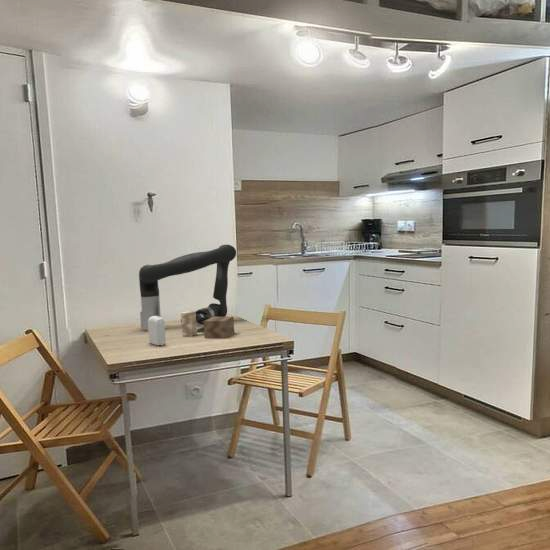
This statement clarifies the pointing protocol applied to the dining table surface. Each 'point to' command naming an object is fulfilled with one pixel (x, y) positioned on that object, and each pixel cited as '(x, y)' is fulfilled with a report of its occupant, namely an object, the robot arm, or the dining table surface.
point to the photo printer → (156, 330)
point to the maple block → (188, 323)
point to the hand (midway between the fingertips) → (190, 321)
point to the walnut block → (218, 327)
